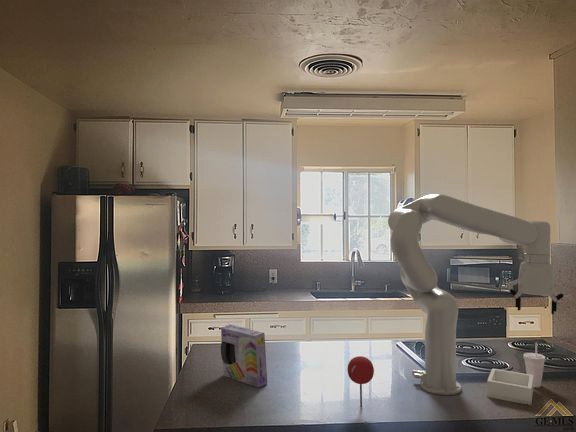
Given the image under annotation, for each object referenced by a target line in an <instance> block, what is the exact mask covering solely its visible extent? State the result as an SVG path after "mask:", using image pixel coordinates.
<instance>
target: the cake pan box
mask: <svg viewBox="0 0 576 432" xmlns="http://www.w3.org/2000/svg"><path fill="white" fill-rule="evenodd" d="M220 335H221V336H220V337H221V343H220V355H221V360H222V371H223V376H224V377H228V378H230V379H232V380H236V381H239V382H241V383H244V384H248V385H250V386H252V387H256V388H261V387H264V386H266V385H268V373H267V370H268V369H267V355H266V354H267V352H266V337H265V335H266V334H265V332H262V331H258V330H254V329H251V328H247V327H242V326H237V325H233V324H227V325H225V326H222V327H220Z"/></svg>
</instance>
